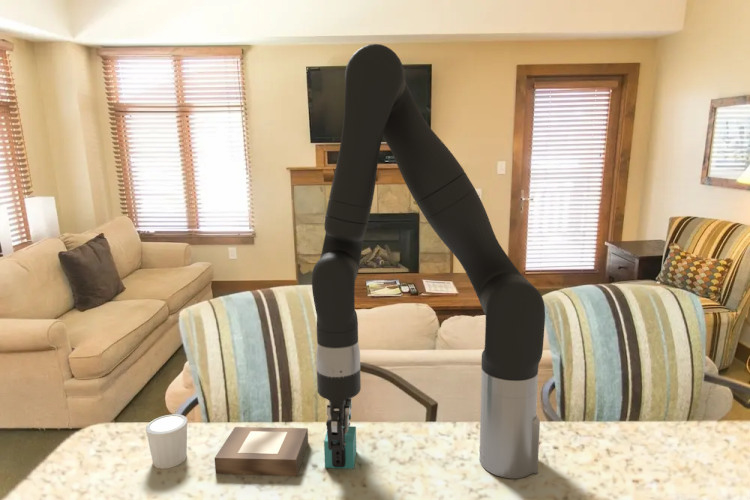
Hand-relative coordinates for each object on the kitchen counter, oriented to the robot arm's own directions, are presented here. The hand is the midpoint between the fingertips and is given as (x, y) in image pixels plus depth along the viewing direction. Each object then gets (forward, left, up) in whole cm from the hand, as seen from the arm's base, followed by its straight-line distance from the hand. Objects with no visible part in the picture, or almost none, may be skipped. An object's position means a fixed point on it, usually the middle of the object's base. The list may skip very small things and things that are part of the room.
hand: (341, 455), depth 86 cm
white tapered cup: (+31, +1, -1) cm, 31 cm away
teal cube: (0, 0, -1) cm, 1 cm away
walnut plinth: (+14, 0, -1) cm, 14 cm away
